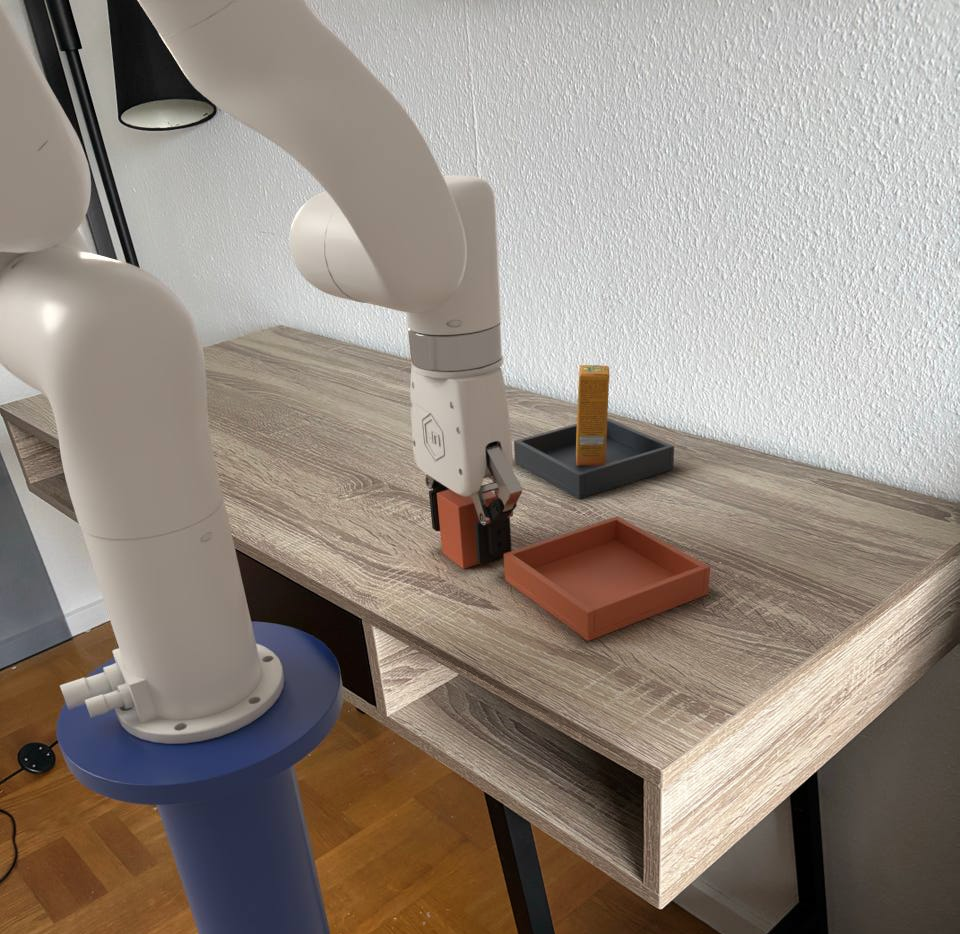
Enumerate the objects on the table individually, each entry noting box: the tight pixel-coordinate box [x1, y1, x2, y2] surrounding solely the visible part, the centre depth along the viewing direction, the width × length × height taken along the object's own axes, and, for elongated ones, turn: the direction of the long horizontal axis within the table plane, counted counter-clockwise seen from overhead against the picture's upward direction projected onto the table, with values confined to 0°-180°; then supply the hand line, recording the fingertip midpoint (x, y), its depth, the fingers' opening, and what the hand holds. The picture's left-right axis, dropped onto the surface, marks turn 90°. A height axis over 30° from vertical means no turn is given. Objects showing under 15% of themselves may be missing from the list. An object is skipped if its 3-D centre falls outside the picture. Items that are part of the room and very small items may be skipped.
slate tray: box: [513, 417, 675, 500], centre depth 101 cm, size 12×12×3 cm
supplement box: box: [576, 364, 610, 467], centre depth 99 cm, size 3×3×10 cm
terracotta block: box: [437, 489, 497, 570], centre depth 85 cm, size 4×4×6 cm
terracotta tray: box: [503, 515, 711, 642], centre depth 79 cm, size 12×12×3 cm
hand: (470, 541), depth 86 cm, fingers open, 7 cm apart
